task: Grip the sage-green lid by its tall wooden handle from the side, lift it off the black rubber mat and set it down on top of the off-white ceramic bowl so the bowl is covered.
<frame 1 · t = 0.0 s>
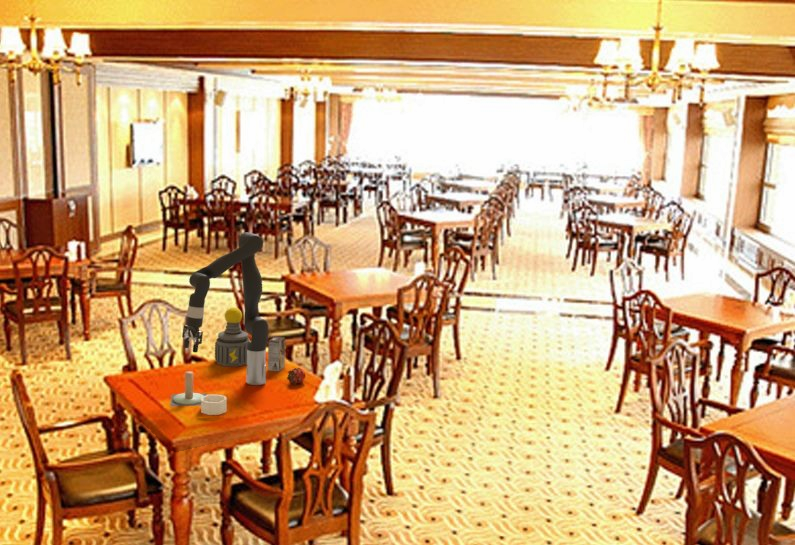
hand: (190, 350, 399), 22 cm above the table, tool pointing down, fingers open, 8 cm apart
bowl: (213, 411, 385), on the table
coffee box: (276, 368, 451), on the table
mat: (188, 400, 397), on the table
lid: (188, 399, 397), resting on mat
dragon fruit: (296, 383, 430), on the table
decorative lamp: (232, 362, 458), on the table
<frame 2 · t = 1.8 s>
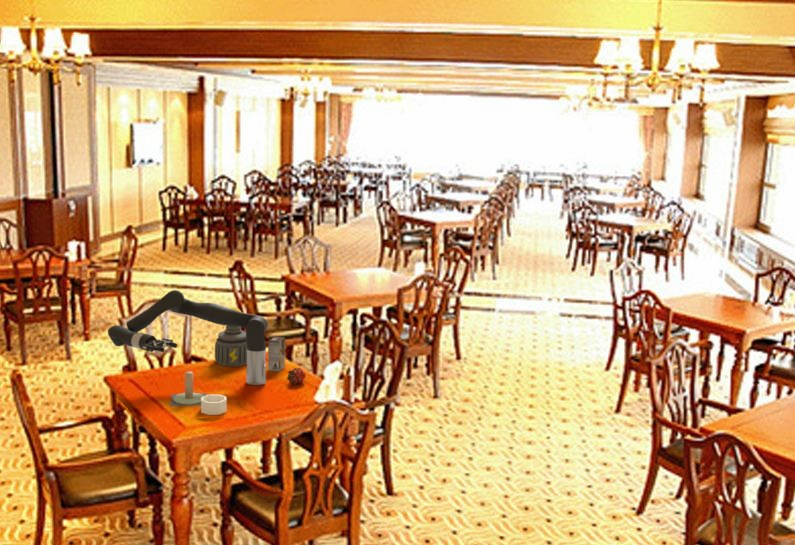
hand: (170, 347, 398), 23 cm above the table, tool horizontal, fingers open, 8 cm apart
nothing on the table moved.
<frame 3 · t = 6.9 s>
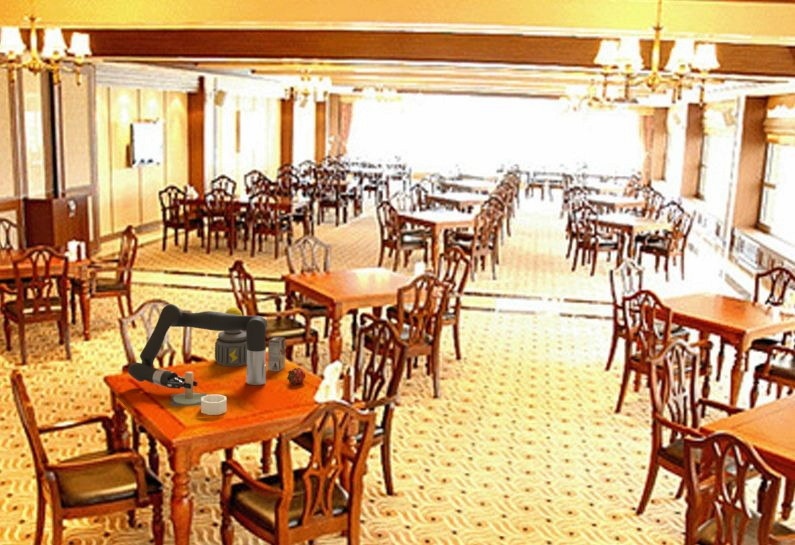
hand: (193, 385, 394), 8 cm above the table, tool horizontal, fingers closed on lid, 3 cm apart
lid: (188, 399, 397), resting on mat, touching gripper
everything else where it was.
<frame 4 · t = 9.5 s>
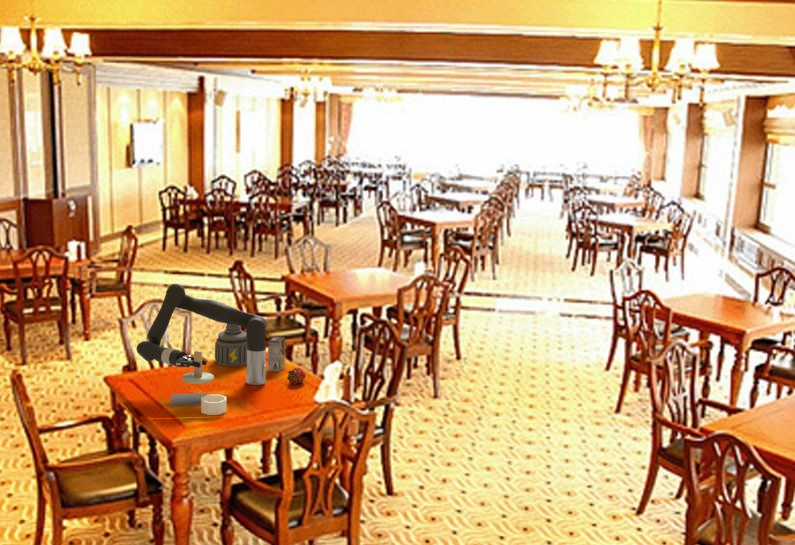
hand: (203, 364, 388), 20 cm above the table, tool horizontal, fingers closed on lid, 3 cm apart
lid: (198, 378, 390), point 12 cm above the table, touching gripper
everything else where it was.
when the fingers open (15 cm above the table, at t = 12.4 s): lid drops 1 cm, resting on bowl.
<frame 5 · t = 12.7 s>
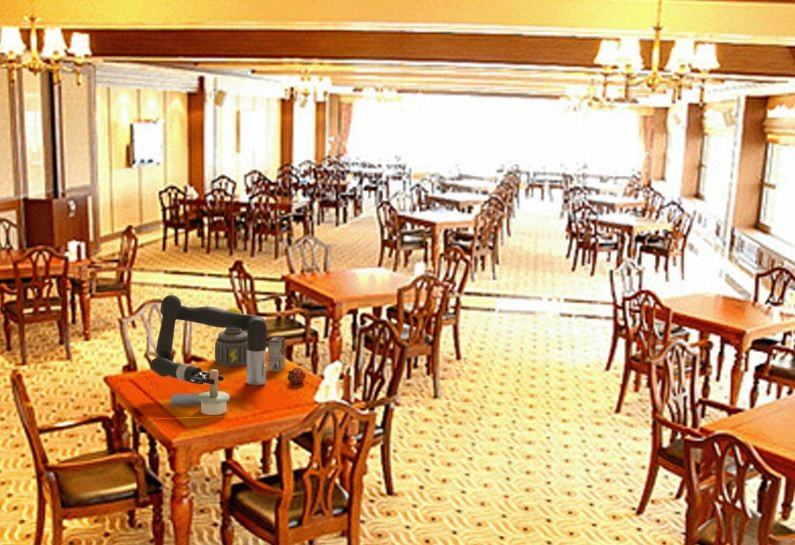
hand: (218, 380, 381), 15 cm above the table, tool horizontal, fingers open, 5 cm apart
lid: (213, 398, 384), point 6 cm above the table, touching bowl
everything else where it was.
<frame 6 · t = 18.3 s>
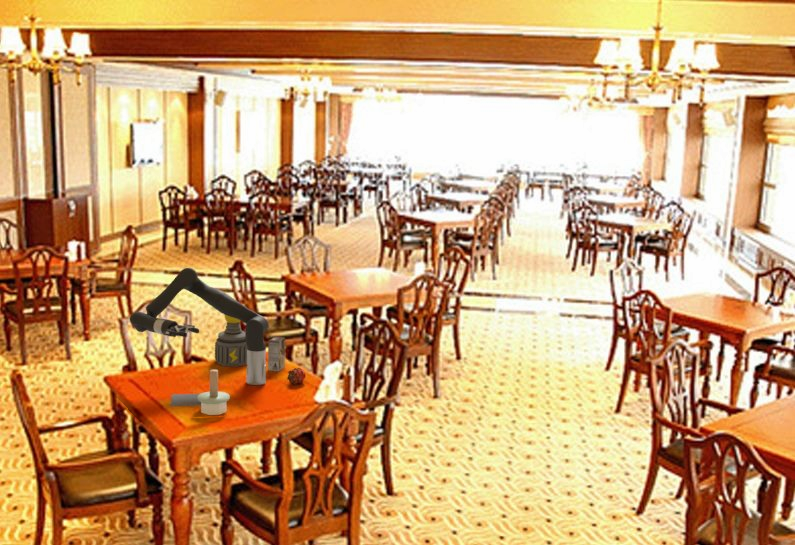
hand: (192, 332, 400), 30 cm above the table, tool horizontal, fingers open, 8 cm apart
nothing on the table moved.
at the end: lid 0.1 cm off-centre on the bowl, point 6.0 cm above the bowl's base; lid tilted 0°; the gripper is holding nothing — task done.
